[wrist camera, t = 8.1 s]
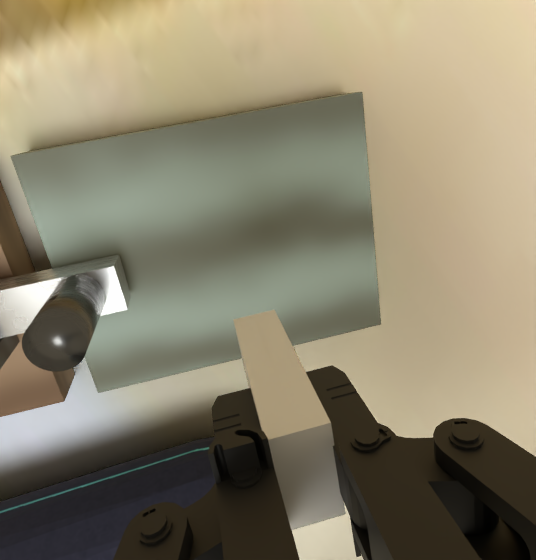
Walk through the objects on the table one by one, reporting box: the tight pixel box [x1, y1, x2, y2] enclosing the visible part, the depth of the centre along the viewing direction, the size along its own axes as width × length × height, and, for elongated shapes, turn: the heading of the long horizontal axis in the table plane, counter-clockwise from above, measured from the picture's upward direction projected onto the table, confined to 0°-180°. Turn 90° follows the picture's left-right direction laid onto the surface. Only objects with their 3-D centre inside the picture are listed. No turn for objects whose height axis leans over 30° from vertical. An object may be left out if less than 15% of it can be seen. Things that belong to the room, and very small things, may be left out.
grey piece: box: [0, 255, 131, 372], centre depth 21 cm, size 2×10×7 cm, turn 99°
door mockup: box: [0, 92, 381, 417], centre depth 24 cm, size 14×32×7 cm, turn 99°
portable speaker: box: [0, 437, 215, 560], centre depth 29 cm, size 25×10×10 cm, turn 103°
